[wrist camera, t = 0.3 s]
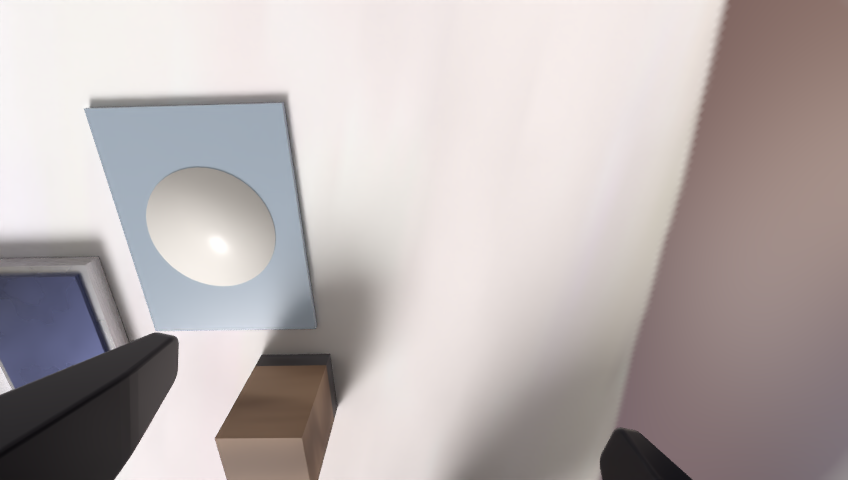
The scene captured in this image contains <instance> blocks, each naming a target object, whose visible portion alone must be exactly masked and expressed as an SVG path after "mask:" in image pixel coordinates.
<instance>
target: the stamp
mask: <svg viewBox="0 0 848 480" xmlns="http://www.w3.org/2000/svg"><path fill="white" fill-rule="evenodd" d="M336 410H337V401H336V394H335V386H334V379H333V372H332V365H331V357H330V354H299V355H261V357H260V359H259V361H258V362H257V364H256V366H255V368H254V370H253V371H252V373H251V375H250V377H249V378H248V380H247V382H246V384H245V386H244V387H243V389H242V391H241V393H240V395H239V396H238V398H237V400H236V402H235V403H234V405H233V407H232V409H231V411H230V412H229V414H228V416H227V418H226V420H225V421H224V423H223V425H222V427H221V428H220V430H219V432H218V434H217V436H216V437H215V441H216V444H217V448H218V451H219V454H220V458H221V461H222V465H223V468H224V471H225V475H226V478H227V480H318V478H319V474H320V471H321V467H322V463H323V459H324V456H325V452H326V448H327V444H328V441H329V437H330V433H331V429H332V425H333V422H334V418H335V414H336Z"/></svg>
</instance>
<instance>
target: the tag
mask: <svg viewBox="0 0 848 480" xmlns="http://www.w3.org/2000/svg"><path fill="white" fill-rule="evenodd" d="M84 110H85V113H86V116H87V119H88V123H89V126H90V129H91V132H92V135H93V138H94V141H95V144H96V147H97V150H98V154H99V157H100V160H101V163H102V166H103V169H104V172H105V175H106V178H107V181H108V185H109V188H110V191H111V194H112V197H113V200H114V203H115V206H116V209H117V212H118V215H119V219H120V222H121V225H122V228H123V231H124V234H125V237H126V240H127V243H128V246H129V250H130V253H131V256H132V259H133V262H134V265H135V268H136V271H137V274H138V277H139V281H140V284H141V287H142V290H143V293H144V296H145V299H146V302H147V305H148V308H149V312H150V315H151V318H152V321H153V324H154V327H155V330H156V331H197V330H267V329H316V327H317V323H316V316H315V309H314V302H313V296H312V289H311V282H310V275H309V269H308V262H307V255H306V248H305V242H304V235H303V228H302V221H301V215H300V208H299V201H298V194H297V188H296V181H295V174H294V167H293V161H292V154H291V147H290V140H289V134H288V127H287V120H286V113H285V107H284V102H281V103H245V104H209V105H173V106H137V107H101V108H85V109H84Z"/></svg>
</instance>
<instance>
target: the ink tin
mask: <svg viewBox="0 0 848 480" xmlns="http://www.w3.org/2000/svg"><path fill="white" fill-rule="evenodd" d="M127 343H129V341H128V338H127V335H126V332H125V329H124V327H123V324H122V321H121V318H120V315H119V313H118V310H117V307H116V304H115V301H114V299H113V296H112V293H111V290H110V287H109V284H108V282H107V279H106V276H105V273H104V270H103V268H102V265H101V262H100V259H99V257H59V258H6V259H0V366H1V368H2V370H3V372H4V374H5V376H6V378H7V380H8V382H9V384H10V386H11V388H12V390H14V389H16V388H18V387H21V386H23V385H26V384H28V383H31V382H33V381H36V380H38V379H41V378H43V377H46V376H48V375H50V374H53V373H55V372H58V371H60V370H63V369H65V368H68V367H70V366H73V365H75V364H78V363H80V362H83V361H85V360H87V359H90V358H92V357H95V356H97V355H100V354H102V353H105V352H107V351H110V350H112V349H115V348H117V347H119V346H122V345H124V344H127Z"/></svg>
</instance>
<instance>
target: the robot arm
mask: <svg viewBox="0 0 848 480" xmlns="http://www.w3.org/2000/svg"><path fill="white" fill-rule="evenodd" d="M178 347H179V343H178V339H177V338H176V337H175V336H172V335H168V334H163V333H152V334H149V335H147V336H144V337H142V338H139V339H137V340H134V341H132V342H129V343H127V344H124V345H122V346H119V347H117V348H115V349H112V350H110V351H107V352H105V353H102V354H100V355H97V356H95V357H92V358H90V359H87V360H85V361H83V362H80V363H78V364H75V365H73V366H70V367H68V368H65V369H63V370H60V371H58V372H55V373H53V374H50V375H48V376H46V377H43V378H41V379H38V380H36V381H33V382H31V383H28V384H26V385H23V386H21V387H18V388H16V389H14V390H11V391H9V392H6V393H4V394H1V395H0V480H114V479H115V478H116V477H117V475H118V474H119V472H120V471H121V470H122V468H123V467H124V465H125V464H126V462H127V461H128V459H129V458H130V457H131V455H132V453H133V452H134V450H135V448H136V447H137V445H138V444H139V442H140V440H141V438H142V437H143V435H144V433H145V431H146V430H147V428H148V426H149V425H150V423H151V421H152V419H153V418H154V416H155V414H156V412H157V411H158V409H159V407H160V405H161V404H162V402H163V400H164V399H165V397H166V395H167V393H168V392H169V390H170V388H171V386H172V385H173V383H174V381H175V379H176V376H177V371H178ZM600 470H601V475H602V480H692V479H691V478H690V477H689V476H688V475H686V473H684V472H683V471H682V470H681V469H680V468H679V467H678V466H677V465H675V464H674V463H673V462H672V461H671V460H670V459H669V458H668V457H666V456H665V455H664V454H663V453H662V452H661V451H660V450H658V449H657V448H656V447H655V446H654V445H653V444H652V443H651V442H650V441H648V440H647V439H646V438H645V437H644V436H643V435H642V434H641V433H639V432H638V431H635V430H630V429H626V428H617V429H615V430H614V432H613V433H612V435H611V437H610V439H609V441H608V443H607V445H606V446H605V448H604V450H603V452H602V454H601V457H600Z"/></svg>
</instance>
